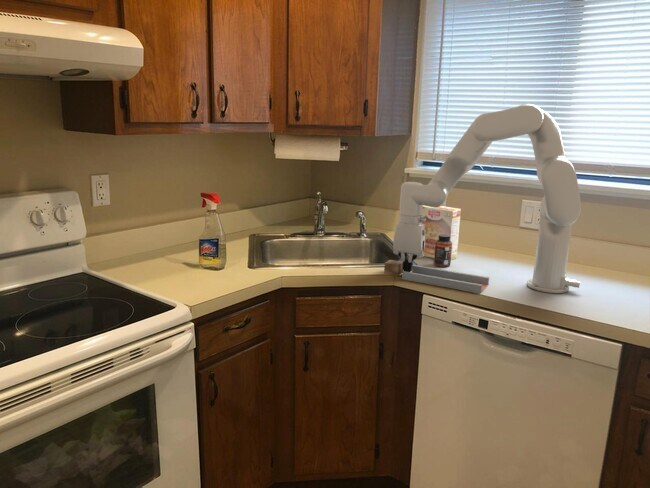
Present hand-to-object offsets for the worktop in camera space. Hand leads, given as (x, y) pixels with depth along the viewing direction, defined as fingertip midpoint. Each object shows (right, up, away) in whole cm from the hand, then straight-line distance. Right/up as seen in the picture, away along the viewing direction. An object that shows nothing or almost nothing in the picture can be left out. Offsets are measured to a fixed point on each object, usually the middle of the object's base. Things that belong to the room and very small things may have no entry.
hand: (407, 272), depth 184 cm
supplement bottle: (+15, +2, +13) cm, 20 cm away
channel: (+12, -3, -6) cm, 13 cm away
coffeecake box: (+15, +5, +26) cm, 30 cm away
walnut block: (-4, -1, +3) cm, 5 cm away
